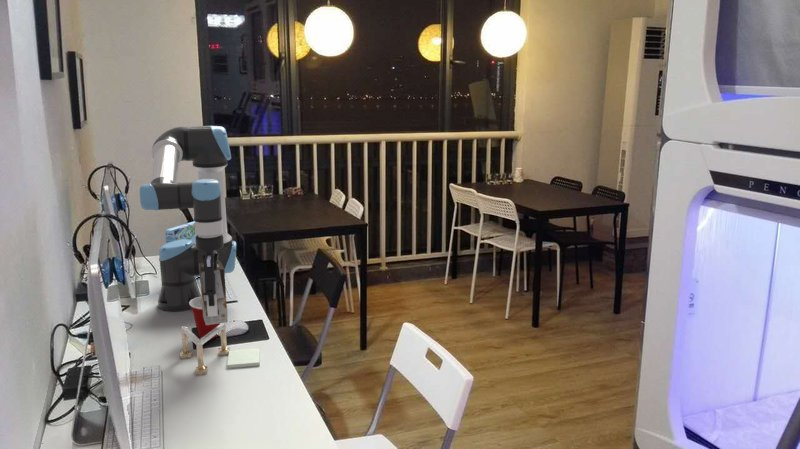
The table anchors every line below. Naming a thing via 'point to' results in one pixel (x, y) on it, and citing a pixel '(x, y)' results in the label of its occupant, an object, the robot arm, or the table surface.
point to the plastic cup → (201, 318)
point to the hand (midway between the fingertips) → (214, 309)
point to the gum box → (181, 233)
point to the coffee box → (220, 295)
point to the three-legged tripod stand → (199, 342)
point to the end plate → (244, 358)
